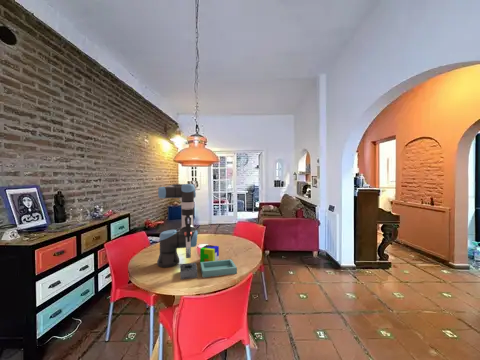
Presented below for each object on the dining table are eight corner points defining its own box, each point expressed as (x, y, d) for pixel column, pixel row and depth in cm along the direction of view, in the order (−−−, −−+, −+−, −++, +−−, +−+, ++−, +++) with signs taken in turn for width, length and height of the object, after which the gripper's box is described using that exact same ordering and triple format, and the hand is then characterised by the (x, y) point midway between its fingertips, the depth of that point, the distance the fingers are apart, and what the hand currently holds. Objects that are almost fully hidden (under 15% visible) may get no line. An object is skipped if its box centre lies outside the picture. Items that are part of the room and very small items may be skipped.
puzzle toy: (218, 259, 175) (218, 246, 175) (212, 264, 166) (212, 250, 166) (206, 258, 179) (206, 244, 178) (200, 262, 169) (200, 248, 169)
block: (180, 271, 153) (180, 264, 153) (195, 270, 156) (195, 262, 156) (180, 279, 142) (180, 271, 142) (197, 277, 144) (197, 269, 144)
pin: (184, 256, 150) (184, 231, 150) (191, 255, 152) (191, 231, 151) (184, 259, 146) (184, 233, 146) (192, 258, 147) (192, 232, 147)
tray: (200, 267, 159) (200, 262, 159) (231, 264, 165) (231, 259, 165) (202, 277, 144) (202, 271, 144) (236, 273, 150) (236, 267, 150)
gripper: (181, 206, 155) (181, 241, 156) (181, 211, 138) (182, 250, 139) (193, 206, 157) (193, 241, 158) (194, 210, 140) (195, 249, 141)
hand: (188, 245), depth 149 cm, fingers closed on pin, 5 cm apart
